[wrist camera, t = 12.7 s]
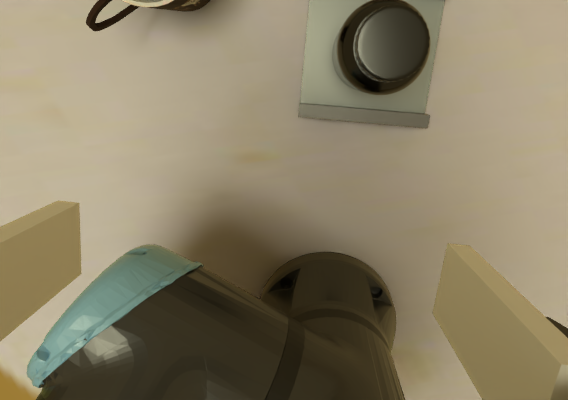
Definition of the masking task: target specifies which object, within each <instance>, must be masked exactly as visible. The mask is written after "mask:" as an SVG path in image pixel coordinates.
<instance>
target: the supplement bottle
mask: <svg viewBox="0 0 568 400" xmlns="http://www.w3.org/2000/svg"><path fill="white" fill-rule="evenodd" d="M430 45H431V40H430V33H429V29H428V26H427V23H426V21H425V19H424V18H423V16H422V15H421V13H420V12H419V11H418V10H417V9H416V8H415V7H414V6H412V5H411V4H409V3H407V2H405V1H403V0H371V1H368V2H366V3H364V4H363V5H361V6H360V7H358V8H357V9H356V10H355V11H353V12H352V13H351V14H350V16H349V17H348V18H347V19H346V21H345V22H344V24H343V26H342V27H341V29H340V30H339V32H338V34H337V36H336V38H335V40H334V44H333V48H332V61H333V66H334V69H335V71H336V73H337V75H338V77H339V78H340V79H341V80H342V82H343V83H345V84H346V85H347V86H349V87H350V88H352V89H354V90H357V91H360V92H364V93H367V94H372V95H388V94H393V93H396V92H398V91H401V90H403V89H405V88H406V87H408V86H409V85H410V84H412V83H413V82H414V81H415V80H416V79H417V78H418V76H419V75H420V74H421V72H422V71H423V69H424V67H425V65H426V63H427V60H428V57H429V53H430Z"/></svg>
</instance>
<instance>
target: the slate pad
mask: <svg viewBox="0 0 568 400" xmlns="http://www.w3.org/2000/svg"><path fill="white" fill-rule="evenodd" d="M368 1H371V0H309V9H308V20H307V31H306V42H305V53H304V64H303V75H302V86H301V97H300V104H299V115H298V117H306V118H317V119H328V120H339V121H350V122H362V123H373V124H384V125H395V126H406V127H418V128H428V124H429V118H430V115H428V114H425V110H426V104H427V98H428V93H429V87H430V81H431V76H432V70H433V64H434V59H435V53H436V47H437V42H438V36H439V30H440V25H441V19H442V14H443V8H444V2H445V0H403V1H405V2H407V3H409V4H411V5H412V6H414V7H415V8H416V9H417V10H418V11H419V12H420V13H421V15H422V16H423V18H424V19H425V21H426V23H427V26H428V29H429V33H430V40H431V45H430V53H429V57H428V60H427V63H426V65H425V67H424V69H423V71H422V72H421V74H420V75H419V76H418V78H417V79H416V80H415V81H414V82H413V83H412V84H410V85H409V86H408V87H406V88H405V89H403V90H401V91H398V92H396V93H393V94H388V95H372V94H367V93H364V92H360V91H357V90H354V89H352V88H350V87H349V86H347V85H346V84H345V83H343V82H342V80H341V79H340V78H339V77H338V75H337V73H336V71H335V69H334V66H333V61H332V48H333V44H334V40H335V38H336V36H337V34H338V32H339V30H340V29H341V27H342V26H343V24H344V22H345V21H346V19H347V18H348V17H349V16H350V14H351V13H352V12H353V11H355V10H356V9H357V8H358V7H360V6H361V5H363V4H364V3H366V2H368Z"/></svg>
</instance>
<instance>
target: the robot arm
mask: <svg viewBox="0 0 568 400" xmlns="http://www.w3.org/2000/svg"><path fill="white" fill-rule="evenodd" d="M80 274H81V246H80V213H79V203H75V202H66V201H56V202H54V203H52V204H50V205H47V206H45V207H43V208H41V209H39V210H36V211H34V212H32V213H30V214H28V215H25V216H23V217H21V218H19V219H17V220H15V221H12V222H10V223H8V224H6V225H4V226H1V227H0V341H1V340H2V339H4V338H5V337H6V336H7V335H8V334H10V333H11V332H12V331H13V330H14V329H16V328H17V327H18V326H19V325H20V324H22V323H23V322H24V321H25V320H26V319H28V318H29V317H30V316H31V315H32V314H34V313H35V312H36V311H37V310H38V309H40V308H41V307H42V306H43V305H44V304H46V303H47V302H48V301H49V300H50V299H52V298H53V297H54V296H55V295H56V294H58V293H59V292H60V291H61V290H62V289H64V288H65V287H66V286H67V285H68V284H70V283H71V282H72V281H73V280H74V279H76V278H77V277H78V276H79V275H80ZM433 315H434V317H435V318H436V320H437V322H438V323H439V325H440V327H441V329H442V330H443V332H444V334H445V336H446V337H447V339H448V341H449V342H450V344H451V346H452V348H453V349H454V351H455V353H456V355H457V356H458V358H459V360H460V361H461V363H462V365H463V367H464V368H465V370H466V372H467V374H468V375H469V377H470V379H471V381H472V382H473V384H474V386H475V387H476V389H477V391H478V393H479V394H480V396H481V398H482V400H568V328H566V327H564V326H563V325H561V324H559V323H558V322H556V321H554V320H553V319H551V318H549V317H545V316H544V315H543V314H542V313H541V312H539V311H538V310H537V309H536V308H535V307H534V306H533V305H532V304H531V303H530V302H529V301H528V300H527V299H526V298H525V297H524V296H522V295H521V294H520V293H519V292H518V291H517V290H516V289H515V288H514V287H513V286H512V285H511V284H510V283H509V282H508V281H506V280H505V279H504V278H503V277H502V276H501V275H500V274H499V273H498V272H497V271H496V270H495V269H494V268H493V267H492V266H491V265H489V264H488V263H487V262H486V261H485V260H484V259H483V258H482V257H481V256H480V255H479V254H478V253H477V252H476V251H475V250H474V249H472V248H471V247H470V246H467V245H458V244H449V243H448V245H447V249H446V254H445V258H444V263H443V268H442V272H441V277H440V281H439V286H438V291H437V295H436V300H435V304H434V309H433ZM395 331H396V313H395V308H394V304H393V301H392V299H391V296H390V293H389V291H388V289H387V287H386V285H385V283H384V282H383V280H382V279H381V278H380V276H379V275H378V274H377V273H376V272H375V271H374V270H373V269H372V268H370V267H369V266H368V265H366V264H365V263H363V262H361V261H359V260H357V259H355V258H353V257H350V256H347V255H343V254H339V253H330V252H320V253H312V254H307V255H304V256H301V257H298V258H295V259H293V260H291V261H289V262H288V263H286V264H285V265H283V266H282V267H280V268H279V269H278V270H277V271H276V272H275V273H274V274H273V275H272V276H271V278H270V279H269V280H268V282H267V283H266V285H265V287H264V289H263V292H262V294H261V298H260V299H258V298H256V297H254V296H253V295H251V294H249V293H247V292H246V291H244V290H242V289H240V288H239V287H237V286H235V285H233V284H232V283H230V282H228V281H226V280H224V279H223V278H221V277H219V276H217V275H216V274H214V273H212V272H210V271H209V270H207V269H205V268H203V264H202V263H200V262H192V261H190V260H188V259H186V258H184V257H182V256H180V255H178V254H176V253H174V252H172V251H170V250H168V249H166V248H164V247H161V246H158V245H143V246H139V247H137V248H134V249H132V250H130V251H129V252H127V253H126V254H124V255H123V256H121V257H120V258H119V259H117V260H116V261H115V262H114V263H112V264H111V265H110V266H109V267H108V268H107V269H106V270H104V271H103V272H102V273H101V274H100V275H99V276H98V277H97V278H96V279H95V280H94V281H93V282H92V283H91V284H90V285H89V286H88V287H87V288H86V289H85V290H84V291H83V292H82V293H81V294H80V295H79V296H78V298H77V299H76V300H75V301H74V302H73V303H72V304H71V305H70V306H69V308H68V309H67V310H66V311H65V312H64V313H63V315H62V316H61V317H60V318H59V319H58V321H57V322H56V323H55V324H54V326H53V327H52V328H51V330H50V331H49V332H48V334H47V335H46V337H45V339H44V342H43V343H42V345H41V346H40V347H39V348H38V350H37V351H36V352H35V353H34V355H33V356H32V358H31V360H30V362H29V364H28V367H27V376H28V377H29V378H30V379H31V380H32V384H33V386H35V387H38V388H41V387H43V388H42V391H41V393H40V394H39V396H38V397H37V399H36V400H405V398H404V394H403V391H402V388H401V385H400V382H399V379H398V375H397V372H396V369H395V366H394V363H393V360H392V357H391V350H392V345H393V341H394V336H395Z"/></svg>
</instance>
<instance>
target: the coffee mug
mask: <svg viewBox="0 0 568 400" xmlns="http://www.w3.org/2000/svg"><path fill="white" fill-rule="evenodd" d="M110 1H112V0H99V1H97V2H96V4H95V5H94V6H93V8H92V9H91V11H90V13H89V14H88V17H87V20H86V24H87V25H88V26H89V27H90V28H91V29H92V30H93V31H100V30H103V29H105V28H107V27H109V26H111V25H113V24H115V23H116V22H118V21H120V20H121V19H123V18H124V17H126V16H127V15H128V14H130V13H131V12H133V11H134V10H136V9H137V8H138V7H148V8H157V9H167V10H177V11H194V10H197V9H200V8H201V7H203V6H205V5H206V4H207V3H208V2H209V1H210V0H122V1H124V2H126V3H129V4H131V5H130V6H128V7H127V8H125V9H124V10H122V11H121V12H119V13H118V14H116V15H115V16H113V17H112V18H110V19H107V20H105V21H103V22H100V23H95V21H96V18H97V16H98V14H99V12H100V11H101V10H102V9H103V8H104V7H105V6H106V5H107V4H108V3H109V2H110Z"/></svg>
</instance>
